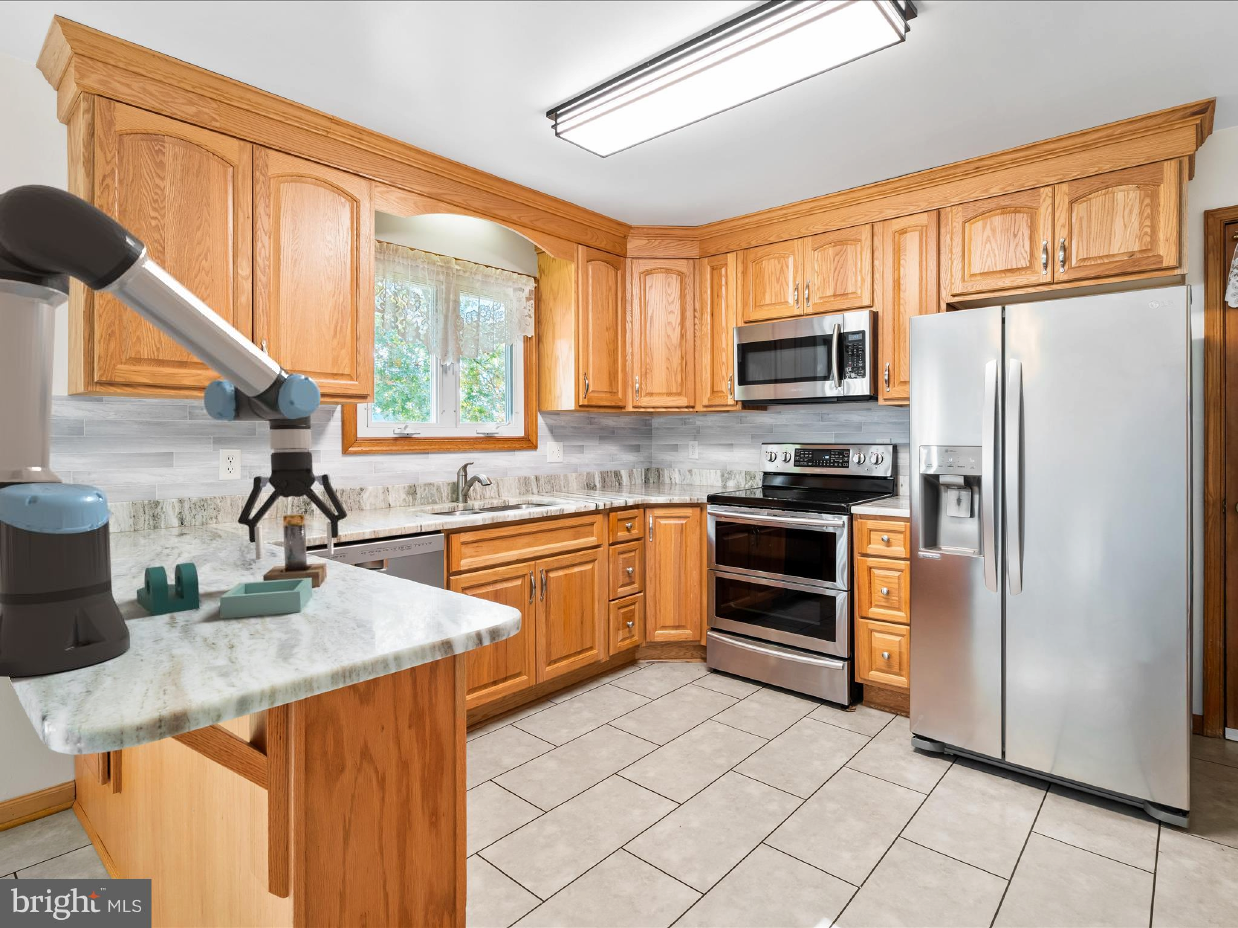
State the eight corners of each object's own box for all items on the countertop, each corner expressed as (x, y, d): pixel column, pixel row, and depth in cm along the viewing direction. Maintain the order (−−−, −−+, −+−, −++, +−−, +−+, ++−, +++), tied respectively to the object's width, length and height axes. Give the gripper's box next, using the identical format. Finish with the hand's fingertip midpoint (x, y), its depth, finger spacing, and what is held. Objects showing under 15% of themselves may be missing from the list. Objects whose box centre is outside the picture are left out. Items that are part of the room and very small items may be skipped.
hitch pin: (305, 584, 136) (302, 515, 136) (283, 586, 135) (281, 516, 135) (309, 580, 140) (306, 513, 139) (287, 582, 139) (285, 514, 138)
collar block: (319, 586, 134) (319, 571, 134) (263, 590, 131) (263, 575, 131) (326, 577, 144) (326, 562, 144) (274, 580, 141) (274, 566, 141)
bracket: (199, 609, 118) (197, 564, 118) (153, 617, 114) (151, 570, 113) (176, 594, 131) (174, 553, 131) (134, 600, 126) (132, 558, 126)
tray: (300, 611, 114) (299, 591, 114) (220, 618, 111) (219, 597, 110) (312, 596, 125) (311, 577, 125) (240, 602, 122) (239, 582, 122)
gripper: (358, 449, 144) (361, 549, 144) (228, 452, 137) (232, 557, 138) (354, 449, 136) (358, 555, 137) (217, 452, 130) (222, 563, 130)
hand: (295, 556), depth 137 cm, fingers open, 12 cm apart
